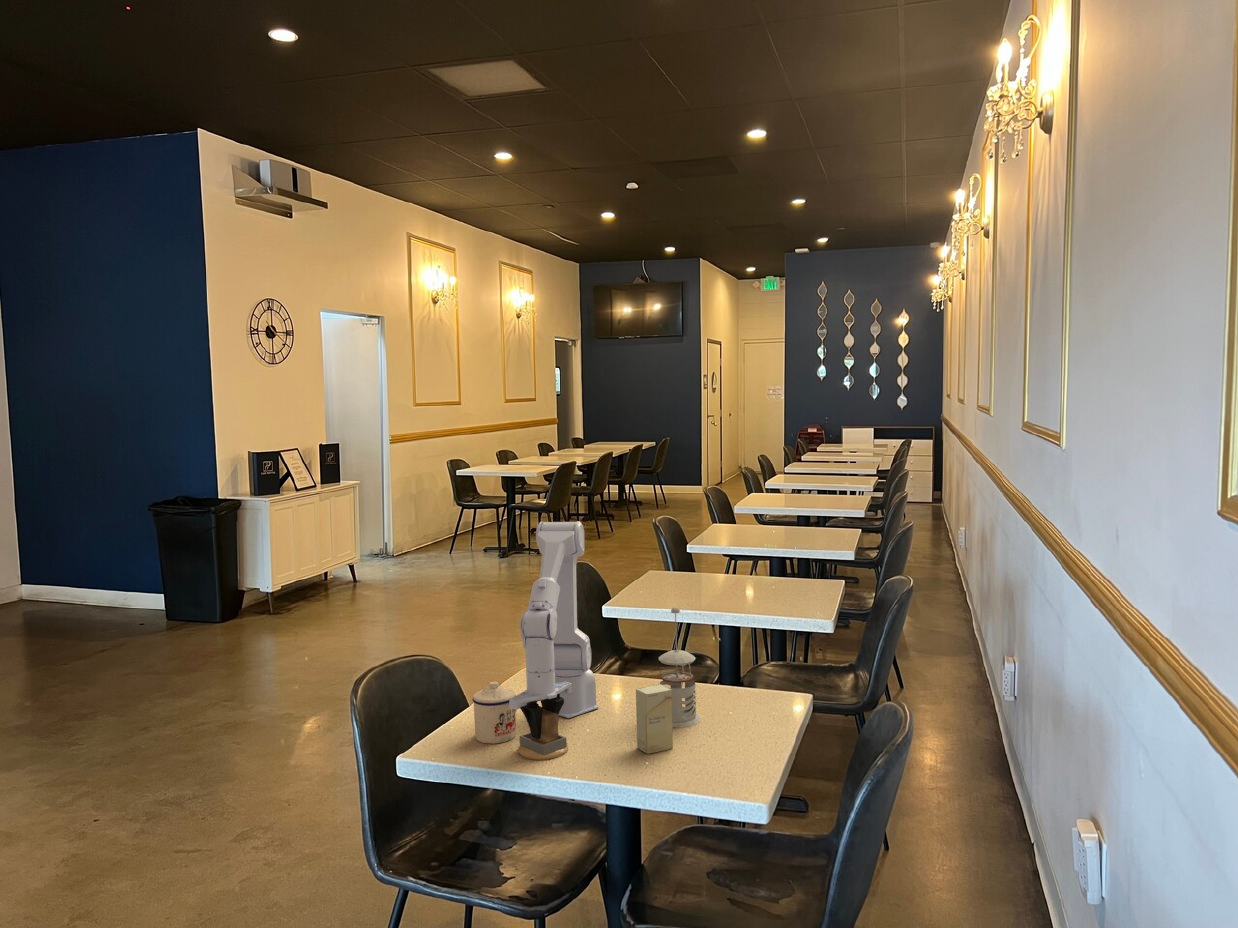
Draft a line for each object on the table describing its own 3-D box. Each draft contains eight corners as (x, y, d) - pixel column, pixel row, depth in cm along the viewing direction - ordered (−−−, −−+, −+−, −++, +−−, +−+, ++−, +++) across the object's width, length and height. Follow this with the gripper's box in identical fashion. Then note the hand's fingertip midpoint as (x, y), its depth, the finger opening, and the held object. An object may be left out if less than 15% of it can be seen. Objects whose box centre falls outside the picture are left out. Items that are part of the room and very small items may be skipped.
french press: (649, 724, 194) (646, 610, 193) (667, 707, 205) (664, 599, 203) (693, 729, 191) (690, 613, 189) (708, 711, 201) (705, 601, 200)
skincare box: (647, 754, 178) (645, 694, 177) (636, 747, 182) (634, 688, 181) (674, 748, 181) (672, 689, 180) (663, 741, 184) (661, 683, 184)
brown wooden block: (543, 741, 184) (541, 708, 184) (558, 748, 180) (557, 713, 180) (531, 745, 182) (530, 712, 182) (547, 752, 178) (545, 717, 178)
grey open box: (547, 737, 189) (546, 724, 189) (578, 749, 181) (577, 735, 181) (508, 750, 182) (508, 737, 182) (539, 764, 175) (538, 749, 174)
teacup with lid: (499, 747, 184) (497, 691, 183) (465, 740, 189) (462, 685, 188) (533, 728, 194) (531, 675, 194) (500, 722, 199) (498, 670, 198)
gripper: (523, 681, 173) (526, 750, 174) (580, 664, 183) (582, 730, 184) (502, 674, 178) (504, 741, 179) (558, 658, 188) (560, 722, 189)
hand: (542, 735), depth 181 cm, fingers closed on brown wooden block, 3 cm apart
